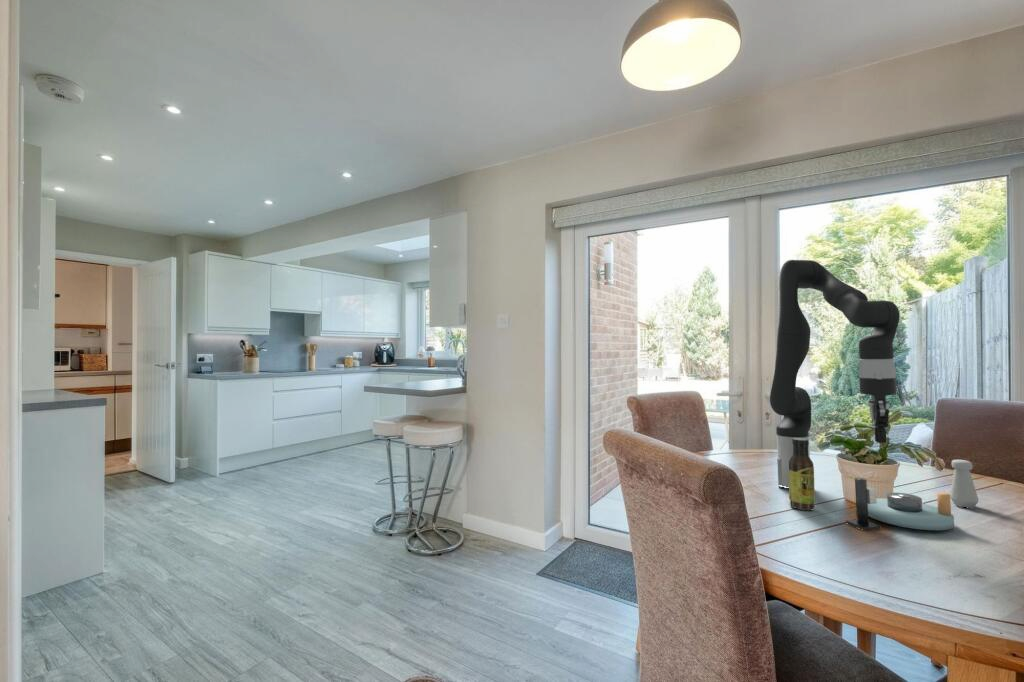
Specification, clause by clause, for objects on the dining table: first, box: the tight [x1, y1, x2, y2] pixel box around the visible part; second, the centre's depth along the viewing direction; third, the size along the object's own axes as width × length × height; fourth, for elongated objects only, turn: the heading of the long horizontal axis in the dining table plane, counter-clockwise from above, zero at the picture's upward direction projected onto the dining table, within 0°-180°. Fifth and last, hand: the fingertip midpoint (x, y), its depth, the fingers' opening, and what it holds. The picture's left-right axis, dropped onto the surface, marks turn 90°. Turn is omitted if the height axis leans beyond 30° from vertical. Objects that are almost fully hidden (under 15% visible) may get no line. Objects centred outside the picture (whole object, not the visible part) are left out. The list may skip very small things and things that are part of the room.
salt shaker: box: [949, 459, 979, 509], centre depth 129 cm, size 6×6×13 cm
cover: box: [886, 492, 923, 513], centre depth 120 cm, size 7×7×3 cm
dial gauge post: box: [845, 477, 882, 531], centre depth 116 cm, size 6×5×12 cm
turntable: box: [868, 492, 955, 531], centre depth 119 cm, size 18×18×7 cm
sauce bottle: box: [788, 438, 816, 511], centre depth 131 cm, size 6×6×20 cm
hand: (880, 442), depth 118 cm, fingers closed
